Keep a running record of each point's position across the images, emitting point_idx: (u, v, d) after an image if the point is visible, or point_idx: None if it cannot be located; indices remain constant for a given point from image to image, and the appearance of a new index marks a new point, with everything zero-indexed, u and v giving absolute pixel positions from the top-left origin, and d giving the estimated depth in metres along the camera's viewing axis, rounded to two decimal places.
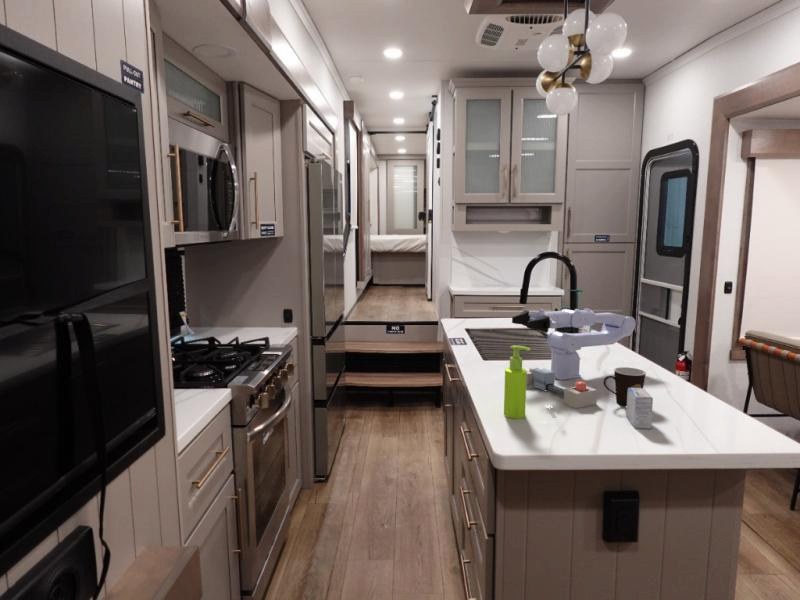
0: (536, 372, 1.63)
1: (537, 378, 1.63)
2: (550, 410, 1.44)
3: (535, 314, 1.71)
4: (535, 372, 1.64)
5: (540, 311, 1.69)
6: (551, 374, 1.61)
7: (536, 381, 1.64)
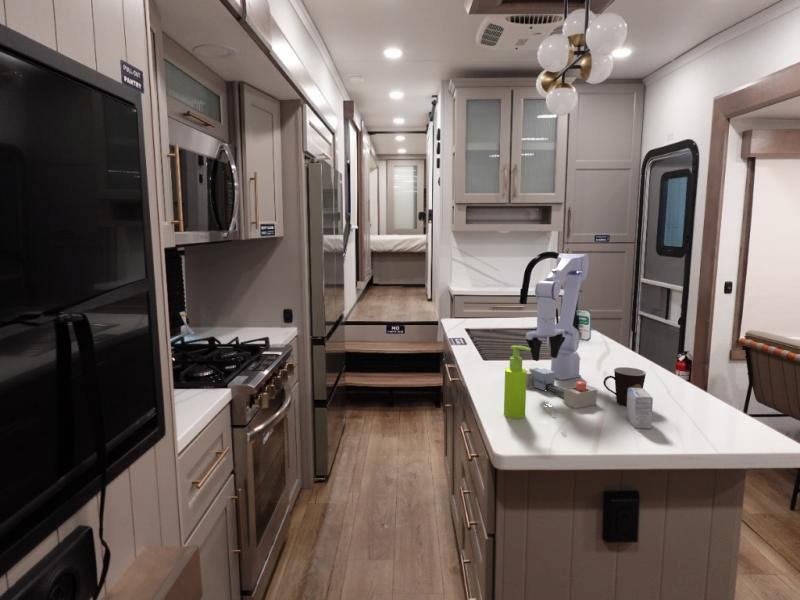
0: (536, 372, 1.63)
1: (537, 378, 1.63)
2: (550, 410, 1.44)
3: None
4: (535, 372, 1.64)
5: None
6: (551, 374, 1.61)
7: (536, 381, 1.64)
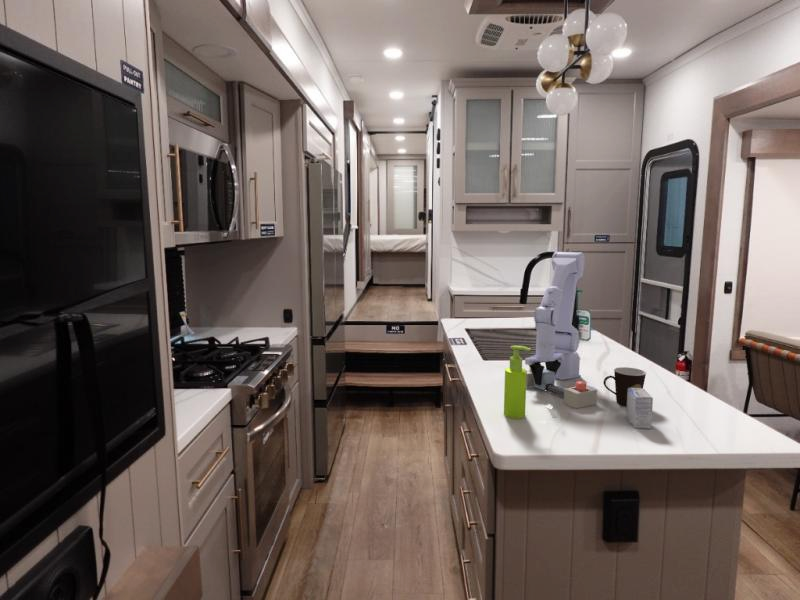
0: None
1: None
2: (550, 410, 1.44)
3: None
4: None
5: (551, 360, 1.60)
6: (551, 374, 1.61)
7: None
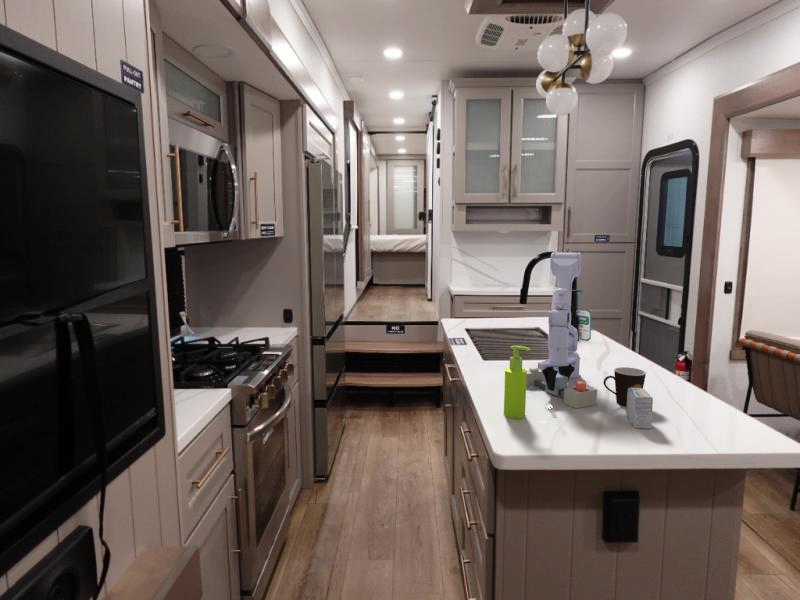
0: None
1: None
2: (551, 410, 1.44)
3: None
4: None
5: None
6: (564, 379, 1.56)
7: None
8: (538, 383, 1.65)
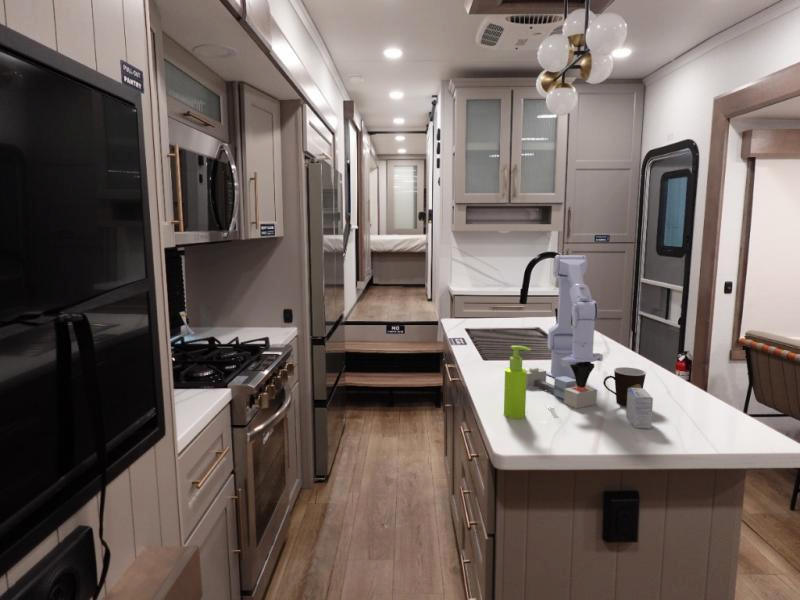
0: (557, 380, 1.55)
1: (558, 386, 1.54)
2: (551, 410, 1.44)
3: None
4: (556, 380, 1.55)
5: None
6: (573, 382, 1.53)
7: (557, 390, 1.55)
8: (538, 383, 1.65)
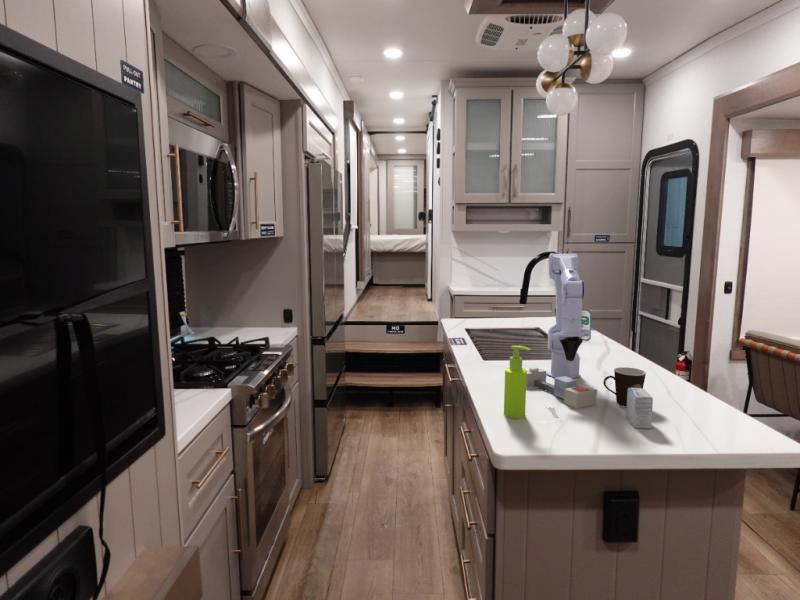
0: (557, 380, 1.55)
1: (558, 386, 1.54)
2: (552, 410, 1.44)
3: None
4: (556, 380, 1.55)
5: None
6: (573, 382, 1.53)
7: (557, 390, 1.55)
8: (538, 383, 1.65)
